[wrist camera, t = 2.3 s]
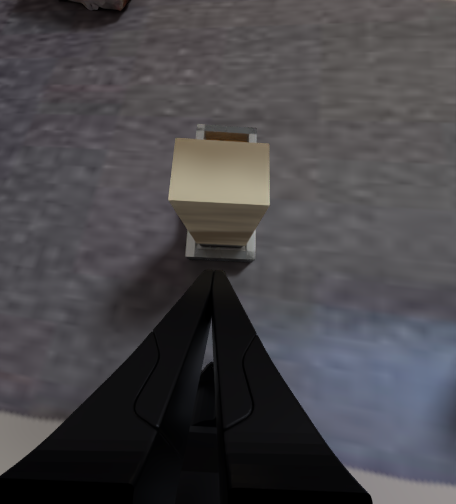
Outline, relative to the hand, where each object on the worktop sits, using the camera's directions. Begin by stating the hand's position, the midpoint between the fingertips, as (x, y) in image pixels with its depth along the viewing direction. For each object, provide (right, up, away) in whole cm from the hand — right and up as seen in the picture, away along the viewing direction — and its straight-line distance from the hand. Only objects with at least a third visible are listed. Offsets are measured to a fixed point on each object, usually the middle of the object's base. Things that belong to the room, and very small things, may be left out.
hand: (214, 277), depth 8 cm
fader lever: (0, +4, +13) cm, 14 cm away
